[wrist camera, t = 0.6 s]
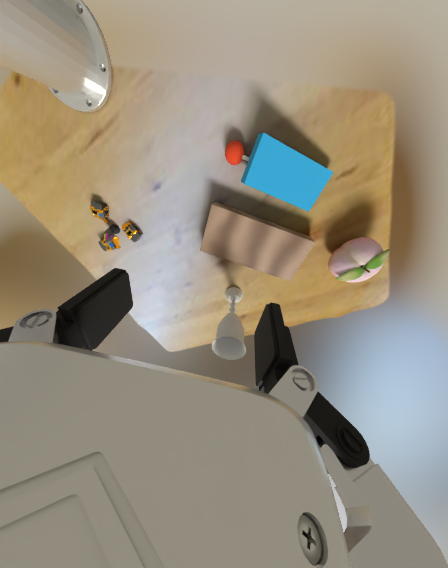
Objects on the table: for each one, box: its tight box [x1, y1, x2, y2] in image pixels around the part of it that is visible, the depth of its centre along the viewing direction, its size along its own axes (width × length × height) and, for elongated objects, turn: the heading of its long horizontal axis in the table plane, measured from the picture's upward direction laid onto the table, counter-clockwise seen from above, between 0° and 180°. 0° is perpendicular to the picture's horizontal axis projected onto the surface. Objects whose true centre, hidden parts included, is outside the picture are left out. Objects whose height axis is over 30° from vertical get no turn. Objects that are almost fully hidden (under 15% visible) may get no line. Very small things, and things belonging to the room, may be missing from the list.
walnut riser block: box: [200, 201, 315, 281], centre depth 38 cm, size 22×10×4 cm, turn 72°
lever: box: [225, 133, 333, 211], centre depth 31 cm, size 7×7×18 cm
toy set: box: [90, 200, 143, 251], centre depth 39 cm, size 12×11×5 cm
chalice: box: [212, 287, 246, 360], centre depth 41 cm, size 7×7×18 cm
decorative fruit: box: [328, 237, 390, 282], centre depth 35 cm, size 9×8×10 cm
